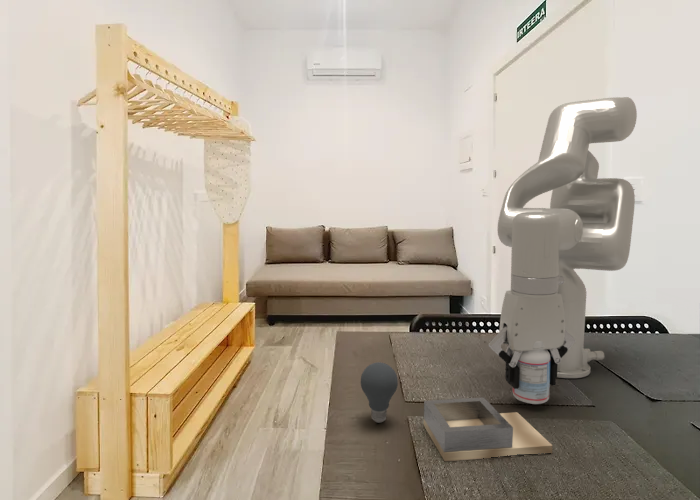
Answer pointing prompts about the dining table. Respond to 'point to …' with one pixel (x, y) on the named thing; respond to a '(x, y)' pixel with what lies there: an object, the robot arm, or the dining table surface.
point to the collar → (467, 437)
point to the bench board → (523, 443)
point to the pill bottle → (534, 375)
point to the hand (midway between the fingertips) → (530, 382)
